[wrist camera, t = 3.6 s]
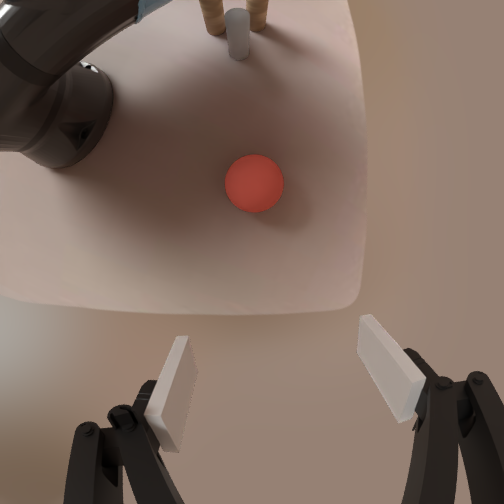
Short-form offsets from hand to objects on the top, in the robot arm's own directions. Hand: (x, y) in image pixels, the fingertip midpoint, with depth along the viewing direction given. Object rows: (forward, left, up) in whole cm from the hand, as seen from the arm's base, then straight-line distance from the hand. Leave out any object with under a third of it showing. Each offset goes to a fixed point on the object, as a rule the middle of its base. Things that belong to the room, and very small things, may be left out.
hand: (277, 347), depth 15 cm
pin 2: (+3, +31, -18) cm, 36 cm away
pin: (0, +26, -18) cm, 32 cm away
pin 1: (-2, +31, -18) cm, 36 cm away
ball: (0, +9, -15) cm, 18 cm away
